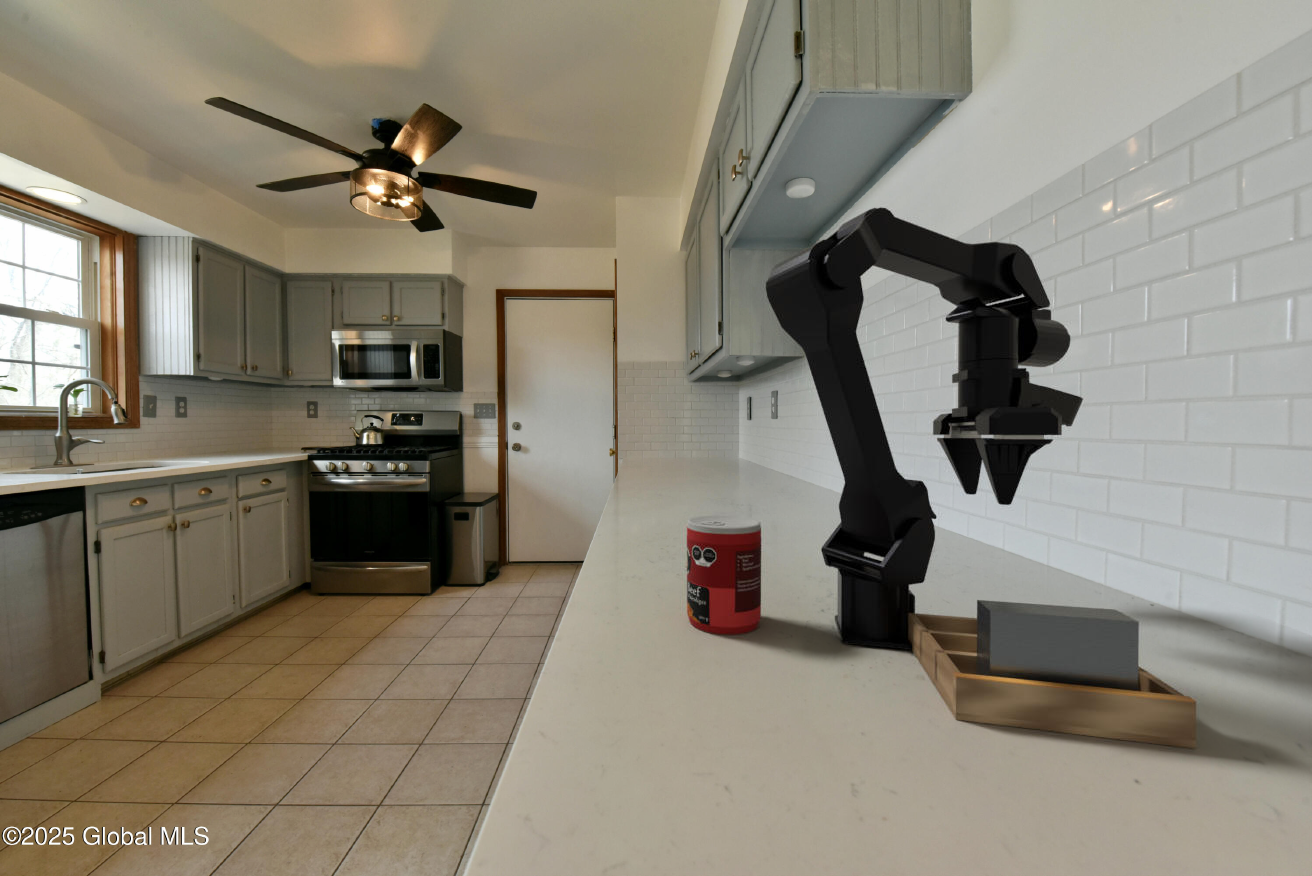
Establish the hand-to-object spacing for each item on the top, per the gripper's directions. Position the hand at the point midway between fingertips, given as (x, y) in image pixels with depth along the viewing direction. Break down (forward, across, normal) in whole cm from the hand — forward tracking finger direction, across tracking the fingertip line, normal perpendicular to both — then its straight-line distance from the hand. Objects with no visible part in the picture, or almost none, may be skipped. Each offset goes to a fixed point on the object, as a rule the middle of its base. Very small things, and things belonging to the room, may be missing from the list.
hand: (986, 499), depth 57 cm
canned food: (+13, -10, +29) cm, 33 cm away
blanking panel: (+12, -22, +4) cm, 26 cm away
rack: (+13, -18, +4) cm, 23 cm away
